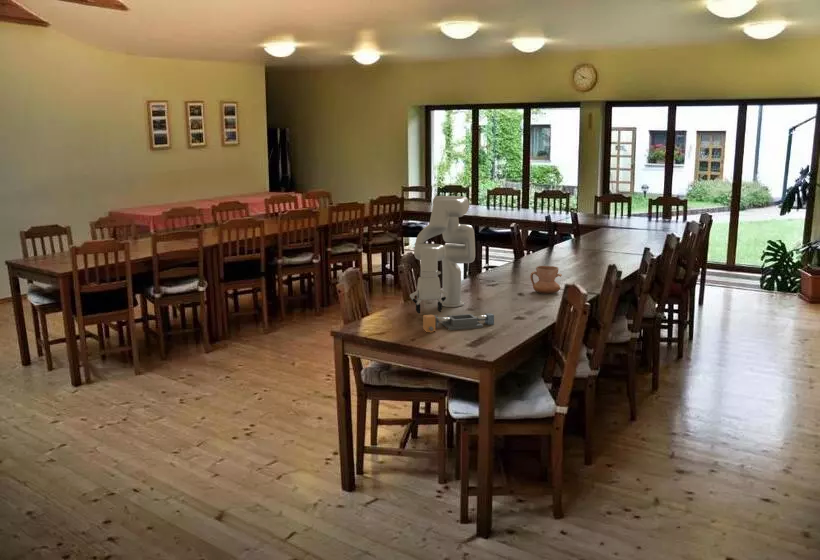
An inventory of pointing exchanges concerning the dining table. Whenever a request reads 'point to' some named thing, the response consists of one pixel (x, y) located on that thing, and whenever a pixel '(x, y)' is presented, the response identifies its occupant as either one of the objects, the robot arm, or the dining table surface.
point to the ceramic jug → (546, 279)
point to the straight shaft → (486, 318)
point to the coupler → (429, 323)
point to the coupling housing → (462, 322)
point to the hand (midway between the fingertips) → (428, 312)
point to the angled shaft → (441, 320)
